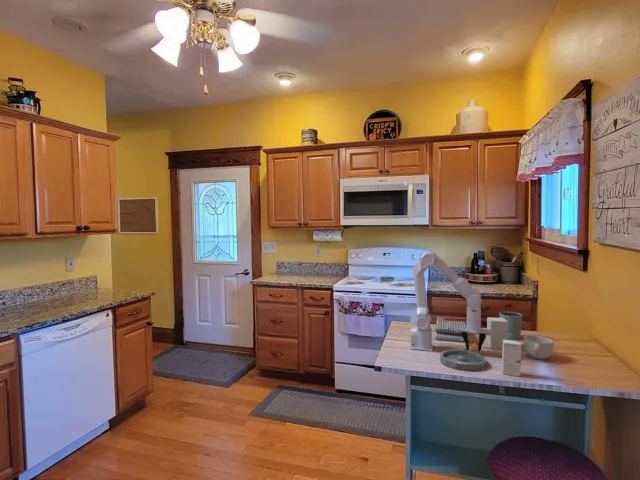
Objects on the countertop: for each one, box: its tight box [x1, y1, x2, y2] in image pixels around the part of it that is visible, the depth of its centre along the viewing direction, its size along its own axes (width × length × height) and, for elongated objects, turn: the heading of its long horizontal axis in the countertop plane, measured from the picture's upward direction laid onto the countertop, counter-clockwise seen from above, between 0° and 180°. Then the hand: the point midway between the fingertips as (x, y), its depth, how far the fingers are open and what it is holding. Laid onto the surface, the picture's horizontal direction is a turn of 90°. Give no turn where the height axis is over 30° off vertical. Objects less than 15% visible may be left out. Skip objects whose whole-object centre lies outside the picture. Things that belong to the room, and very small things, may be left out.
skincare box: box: [501, 340, 522, 377], centre depth 139 cm, size 6×4×12 cm
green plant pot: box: [499, 311, 523, 341], centre depth 183 cm, size 10×10×12 cm
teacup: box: [523, 334, 555, 360], centre depth 155 cm, size 14×11×8 cm
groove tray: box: [439, 348, 487, 372], centre depth 151 cm, size 17×17×2 cm
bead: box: [468, 339, 480, 354], centre depth 161 cm, size 4×4×5 cm
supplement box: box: [486, 317, 508, 350], centre depth 170 cm, size 7×7×13 cm
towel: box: [434, 316, 467, 343], centre depth 186 cm, size 15×18×8 cm
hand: (473, 350), depth 161 cm, fingers closed on bead, 4 cm apart
